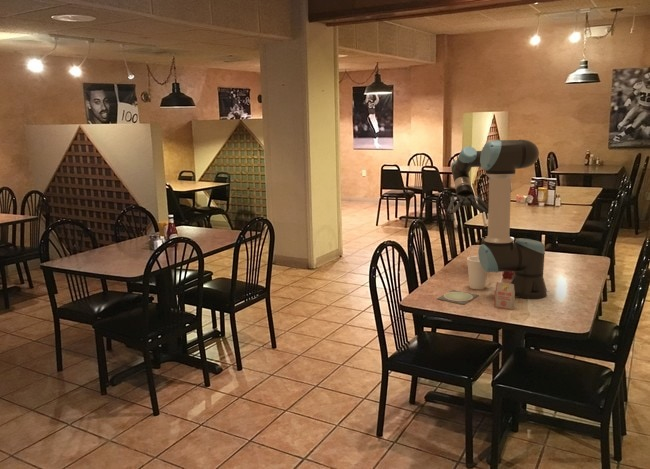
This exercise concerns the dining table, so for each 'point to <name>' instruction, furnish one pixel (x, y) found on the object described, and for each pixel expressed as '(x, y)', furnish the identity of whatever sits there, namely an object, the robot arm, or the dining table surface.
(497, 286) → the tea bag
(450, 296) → the square coaster
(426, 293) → the dining table surface
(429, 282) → the dining table surface
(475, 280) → the foam cup
